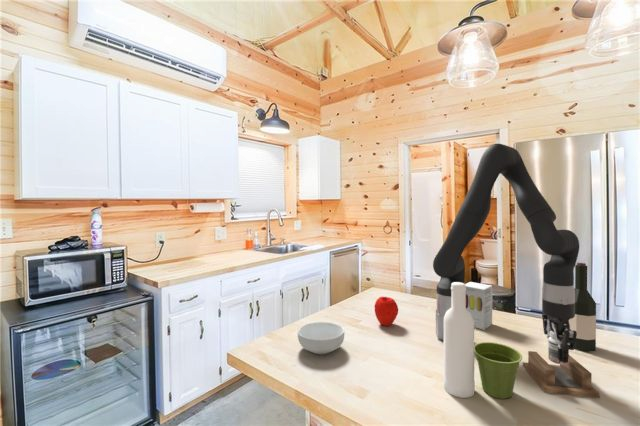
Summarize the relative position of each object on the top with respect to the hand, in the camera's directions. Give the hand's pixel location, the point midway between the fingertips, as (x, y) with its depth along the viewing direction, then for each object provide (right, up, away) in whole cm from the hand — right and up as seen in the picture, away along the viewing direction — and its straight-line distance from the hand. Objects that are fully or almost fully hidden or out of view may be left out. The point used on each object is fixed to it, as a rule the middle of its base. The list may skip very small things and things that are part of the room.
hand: (558, 356), depth 90 cm
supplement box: (-2, -6, +43) cm, 43 cm away
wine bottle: (+24, -6, +21) cm, 32 cm away
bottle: (-30, -8, -3) cm, 32 cm away
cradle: (0, -7, 0) cm, 7 cm away
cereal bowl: (-69, -8, +22) cm, 73 cm away
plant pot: (-20, -8, -5) cm, 22 cm away
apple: (-41, -7, +44) cm, 60 cm away
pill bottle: (0, -2, 0) cm, 2 cm away
